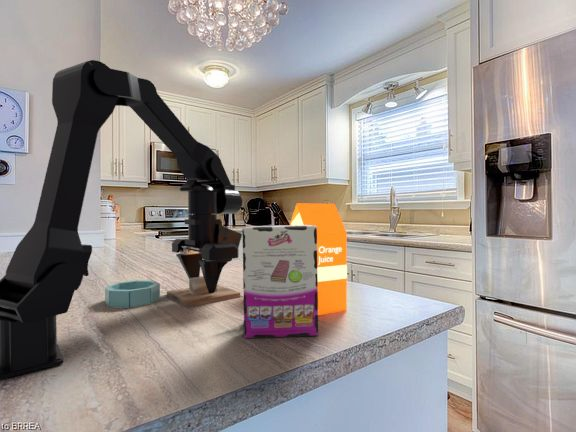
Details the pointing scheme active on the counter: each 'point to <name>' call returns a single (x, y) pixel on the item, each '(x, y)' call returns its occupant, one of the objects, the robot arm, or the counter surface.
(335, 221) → the orange juice
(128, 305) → the bowl
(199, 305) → the mat
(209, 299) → the lid
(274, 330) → the candy bar box
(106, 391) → the counter surface
